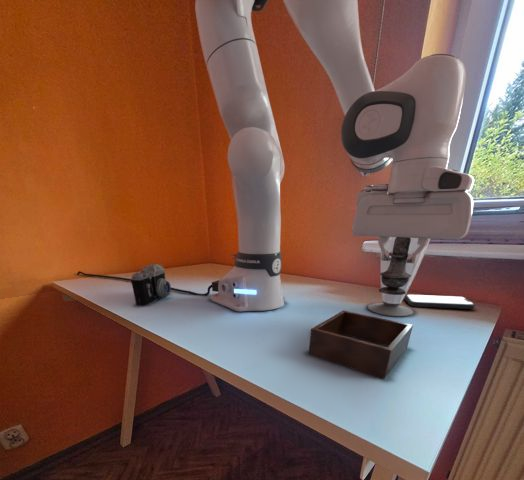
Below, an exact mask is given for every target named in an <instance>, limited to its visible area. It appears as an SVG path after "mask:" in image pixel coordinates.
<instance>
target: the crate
mask: <svg viewBox="0 0 524 480" xmlns="http://www.w3.org/2000/svg"><path fill="white" fill-rule="evenodd" d="M413 328H414V324H410V323H406V322H401V321H396V320H392V319H388V318H382V317H377V316H372V315H368V314H362V313H357V312H353V311H348V310H341V311H339V312H338V313H336V314H334V315H333V316H331V317H329V318H327V319H326V320H324V321H322V322H321V323H319V324H317V325H315V326H314V327H312V328H311V329H310V334H309V335H310V336H309V349H308V354H309V355H311V356H314V357H317V358H321V359H323V360H327V361H329V362H333V363H335V364H338V365H341V366H345V367H347V368H351V369H353V370H355V371H356V370H357V371H359V372H363V373H366V374H368V375H371V376H375V377H377V378H381V379H386V378H387V376H388V375H389V374H390V372H391V371H392V370H393V368H394V367H395V366H396V364H397V363H398V362H399V360H400V359H401V357H403V355H404V354H405V353H406V351H407V349H408V346H409V342H410V338H411V334H412V332H413Z"/></svg>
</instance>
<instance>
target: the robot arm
mask: <svg viewBox="0 0 524 480" xmlns="http://www.w3.org/2000/svg"><path fill="white" fill-rule="evenodd" d="M268 2H269V0H195V3H194V4H195V6H194V8H195V10H194V11H195V17H196V24H197V31H198V36H199V37H198V38H199V42H200V46H201V50H202V55H203V59H204V63H205V66H206V72H207V75H208V77H209V81H210V85H211V89H212V91H213V95H214V98H215V101H216V105H217V108H218V112H219V115H220V118H221V120H222V122H223V125H224V127H225V130H226V131H227V135H228V138H229V140H230V142H229V145H228V149H227V162H228V167H229V171H230V178H231V186H232V193H233V194H232V195H233V201H234V207H235V212H236V221H237V247H238V251H237V253H235V254H230V255H231V258H230V259H231V260H234V263H233V266H232V267H231V268H230V269H229V270H228V271H227V272H226V273H225V274H223V275H222V276H221V277H220V278H219V279H218V280H214V281H212V282H211V284H210V285H209V286H208V287H207V292H204V293H198V292H195V291H191V290H185V289H180V288H175V287H171V291H175V292H180V293H183V294H184V293H185V294H189V295H194V296H205V297H206V296H209V295H210V293H211V291H212V292H215V294H213V295H211V296H210V301H211V302H214V303H217V304H219V305H221V306H223V307H226V308H228V309H231V310H233V311H235V312H249V311H255V312H261V311H272V310H276V309H279V308H282V307H284V305H285V301H284V296H283V291H282V284H281V282H282V280H281V271H282V256H283V255H282V251H281V236H282V235H281V233H282V232H281V231H282V216H281V214H282V212H281V182H282V181H283V179H284V175H285V169H286V167H285V161H284V155H283V152H282V147H281V144H280V138H279V135H278V130H277V127H276V126H277V125H276V121H275V118H274V114H273V110H272V106H271V103H270V98H269V93H268V90H267V86H266V81H265V76H264V72H263V68H262V62H261V58H260V55H259V50H258V46H257V45H258V44H257V41H256V38H255V33H254V28H253V24H252V23H253V22H252V12H261V11H262V10H264V8H265V7H266V6H267V3H268ZM282 2H283V5H284V7H285V9H286V11H287V13H288V15H289V17H290V19H291V20H292V23H293V24H294V26H295V28H296V29H297V30H298V32H299V34H300V35H301V37H302V39H303V40H304V41H305V43H306V44H307V46H308V47H309V49H310V50H311V52H312V53H313V55H314V56H315V57H316V59H317V60H318V62H319V63H320V65H321V66H322V68H323V69H324V71H325V72H326V74H327V76H328V78H329V80H330V83H331V84H332V86H333V89H334V91H335V94H336V97H337V100H338V102H339V105H340V107H341V110H342V112H343V115H344V118H343V121H342V124H341V128H340V129H341V131H340V133H341V134H340V139H341V143H342V147H343V148H344V151H345V152H346V154H347V156H348V157H349V160H350V163H351V164H352V166H353V167H354V168H355V170H357V171H358V172H361V173H362V174H374V173H378V172H380V171H383V170H384V169H385V168H386V167H388V166H389V165H390V164H391V166H390V173H389V179H388V183H381V184H376V185H373V184H369V185H366V186H365V187H363V188H362V189H361V190H359V192H358V193H357V196H356V201H355V202H356V203H355V206H356V209H355V213H354V217H353V221H352V227H351V231H352V233H353V235H354V236H357V237H378V241H377V244H378V246H379V248H380V252H381V251H382V257H381V256H380V261H390V260H391V256H390V254H392V252H391V251H388V249H387V246H386V242H388V241H389V237H403V238H418V242H417V244H418V245H420V246H419V247H418V248H417V250H416V251H415V252H414V253H409V254H408V259H407V263H414V264H415V263H416V262H417V258H418V254H419V253H420V252H421V251H422V250H423V249H424V247H425V246H426V245H427V244H428V240H429V239H430V240H453V241H455V240H457V241H459V240H462V239H463V238H465V237H466V236H467V235H468V234H469V230H470V227H471V223H472V218H473V211H474V199H473V196H472V195H471V194H470V193H469V192H470V191H471V190H472V188H473V187H474V185H475V184H474V183H475V177H474V176H472V175H471V174H468V173H465V172H461V171H458V170H457V169H449V168H448V164H449V161H450V147H451V142H452V138H453V136H454V134H455V132H456V131H457V128H458V124H459V120H460V116H461V111H462V107H463V102H464V96H465V90H466V82H467V69H466V66H465V64H464V62H463V61H462V59H460V58H458V57H457V56H455V55H452V54H448V53H433V54H430V55H426V56H424V57H422V58H420V59H418V60H417V61H416V62H415V63H414V64H413V65H412V66H411V67H410V68H409V69H408V70H407V71H405V73H403V74H402V75H401V76H399V77H398V78H396V79H394V80H393V81H391V82H390V83H388V84H386V85H384V86H383V87H381V88H377V89H376V90H375V86H374V83H373V80H372V78H371V74H370V71H369V68H368V65H367V62H366V59H365V54H364V49H363V45H362V38H361V29H360V17H359V15H360V14H359V4H358V3H359V2H358V0H282ZM258 6H259V7H258ZM428 245H429V244H428ZM76 274H77V275H78V276H79V275H80V274H82V275H83V276H87V277H97V278H108V279H116V280H123V281H128V282H131V278H127V277H121V276H114V275H113V276H112V275H103V274H93V273H85V272H83V271H81V270H78V271H77V273H76Z"/></svg>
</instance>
